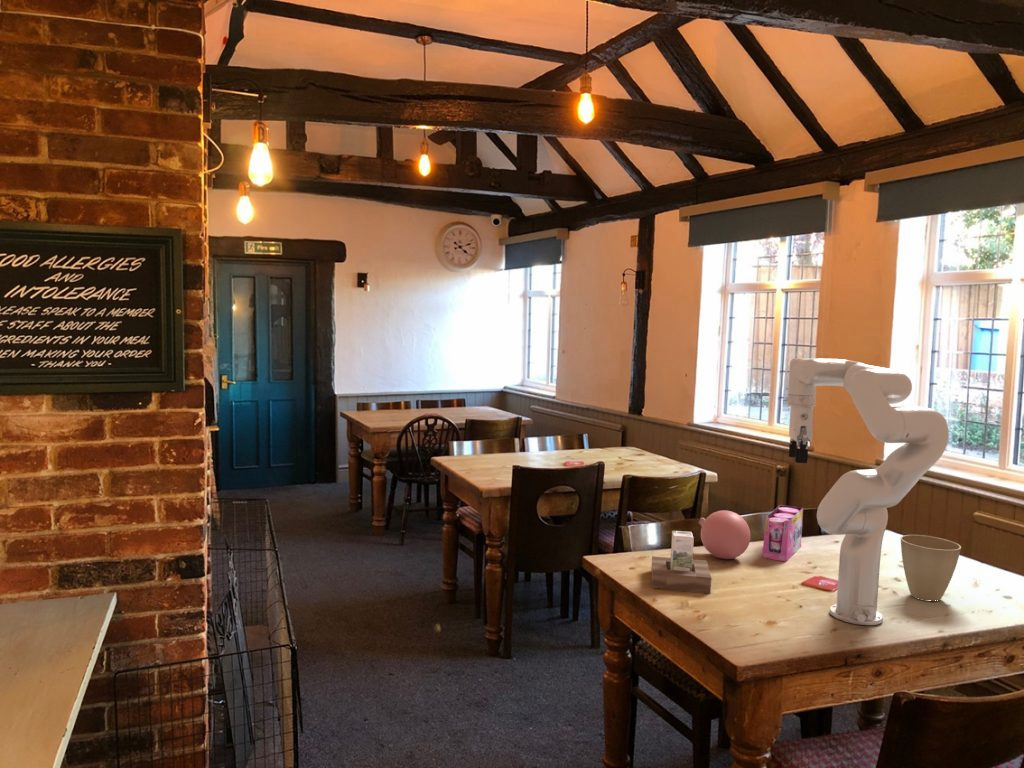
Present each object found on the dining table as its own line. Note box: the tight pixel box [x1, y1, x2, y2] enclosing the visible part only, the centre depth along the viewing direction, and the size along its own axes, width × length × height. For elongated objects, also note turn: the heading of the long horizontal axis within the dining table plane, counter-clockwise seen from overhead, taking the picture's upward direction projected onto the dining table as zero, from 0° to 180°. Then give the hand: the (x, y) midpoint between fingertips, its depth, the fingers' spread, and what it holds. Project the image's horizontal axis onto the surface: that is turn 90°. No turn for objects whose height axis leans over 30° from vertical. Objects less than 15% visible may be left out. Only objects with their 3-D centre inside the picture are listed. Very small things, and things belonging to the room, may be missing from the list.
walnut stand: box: [650, 555, 712, 594], centre depth 222 cm, size 16×16×4 cm
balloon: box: [698, 509, 751, 560], centre depth 249 cm, size 15×20×15 cm
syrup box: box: [670, 530, 695, 572], centre depth 221 cm, size 6×6×14 cm
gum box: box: [762, 504, 804, 563], centre depth 255 cm, size 24×8×14 cm, turn 148°
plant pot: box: [900, 534, 962, 601], centre depth 215 cm, size 15×15×16 cm
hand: (797, 459), depth 222 cm, fingers open, 9 cm apart
